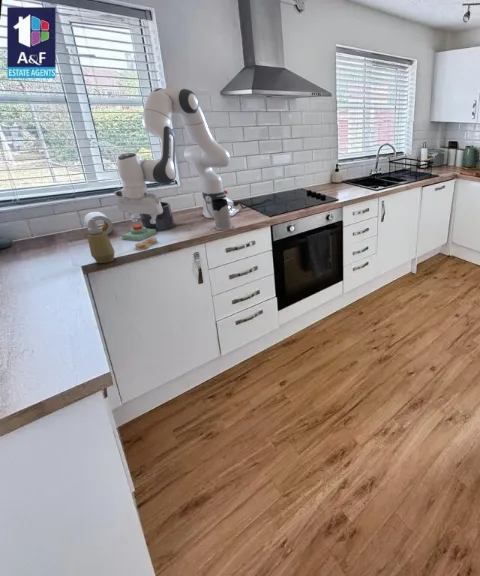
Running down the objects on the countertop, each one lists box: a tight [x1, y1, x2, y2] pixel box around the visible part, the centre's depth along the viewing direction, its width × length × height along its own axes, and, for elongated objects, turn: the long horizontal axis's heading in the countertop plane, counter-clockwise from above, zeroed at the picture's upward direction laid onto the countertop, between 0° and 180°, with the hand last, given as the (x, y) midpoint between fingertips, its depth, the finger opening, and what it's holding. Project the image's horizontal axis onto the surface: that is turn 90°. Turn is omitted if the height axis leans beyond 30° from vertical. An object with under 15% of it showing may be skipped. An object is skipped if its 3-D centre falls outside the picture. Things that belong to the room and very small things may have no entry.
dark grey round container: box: [138, 201, 176, 232], centre depth 195 cm, size 15×15×12 cm
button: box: [132, 224, 143, 230], centre depth 182 cm, size 4×4×2 cm
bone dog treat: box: [134, 236, 158, 251], centre depth 173 cm, size 11×4×2 cm, turn 170°
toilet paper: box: [83, 211, 114, 236], centre depth 184 cm, size 10×10×10 cm
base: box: [121, 226, 157, 242], centre depth 184 cm, size 12×9×4 cm
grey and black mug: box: [206, 199, 233, 231], centre depth 198 cm, size 9×14×15 cm, turn 68°
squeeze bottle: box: [86, 219, 116, 264], centre depth 152 cm, size 8×8×18 cm
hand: (144, 222), depth 170 cm, fingers open, 8 cm apart
